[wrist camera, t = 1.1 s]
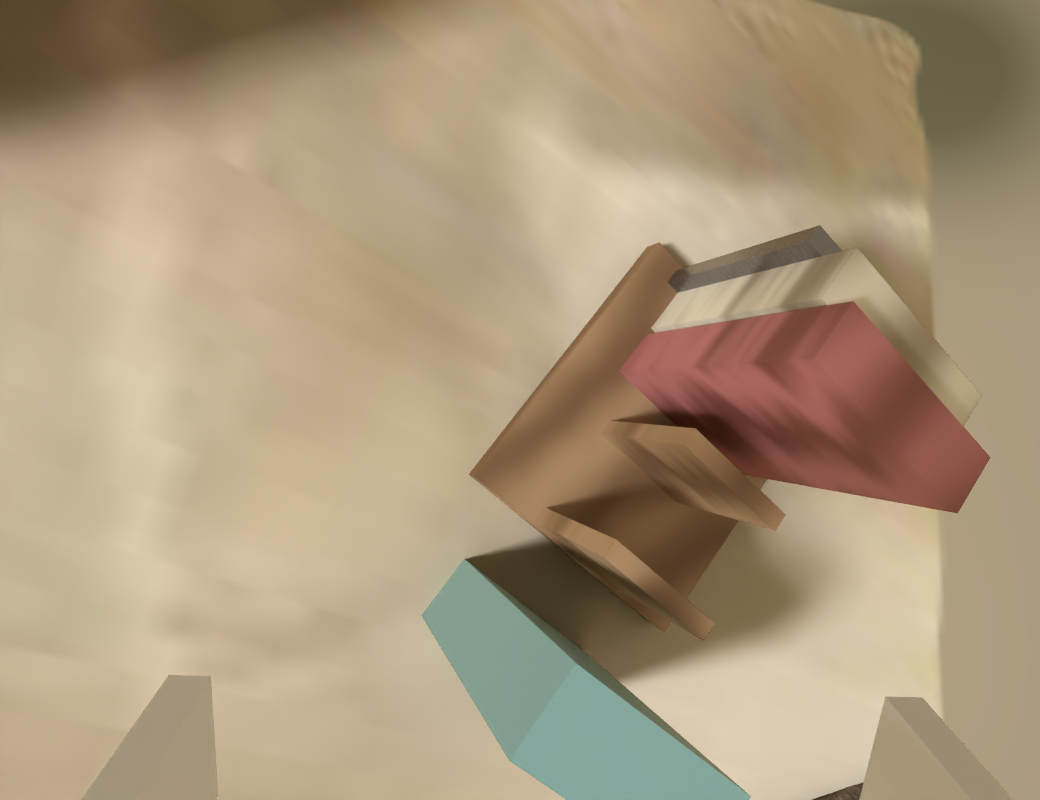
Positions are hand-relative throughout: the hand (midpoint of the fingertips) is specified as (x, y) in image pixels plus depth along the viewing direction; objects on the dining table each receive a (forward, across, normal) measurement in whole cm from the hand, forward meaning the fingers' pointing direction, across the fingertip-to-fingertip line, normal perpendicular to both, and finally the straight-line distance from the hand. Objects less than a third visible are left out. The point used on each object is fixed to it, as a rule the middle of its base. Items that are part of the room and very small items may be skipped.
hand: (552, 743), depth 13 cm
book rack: (+30, +10, -3) cm, 32 cm away
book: (+24, +1, -14) cm, 28 cm away
